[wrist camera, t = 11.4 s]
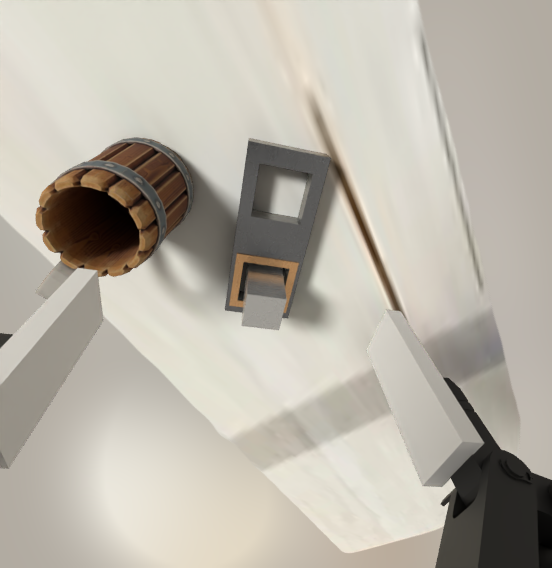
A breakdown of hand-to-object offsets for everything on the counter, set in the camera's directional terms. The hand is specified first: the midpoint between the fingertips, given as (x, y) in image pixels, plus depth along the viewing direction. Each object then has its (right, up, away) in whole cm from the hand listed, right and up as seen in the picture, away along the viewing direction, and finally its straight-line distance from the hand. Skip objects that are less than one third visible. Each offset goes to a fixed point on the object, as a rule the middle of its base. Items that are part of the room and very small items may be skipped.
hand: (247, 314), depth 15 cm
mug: (-15, +12, +23) cm, 30 cm away
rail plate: (+1, +8, +26) cm, 27 cm away
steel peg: (-1, +3, +29) cm, 29 cm away
